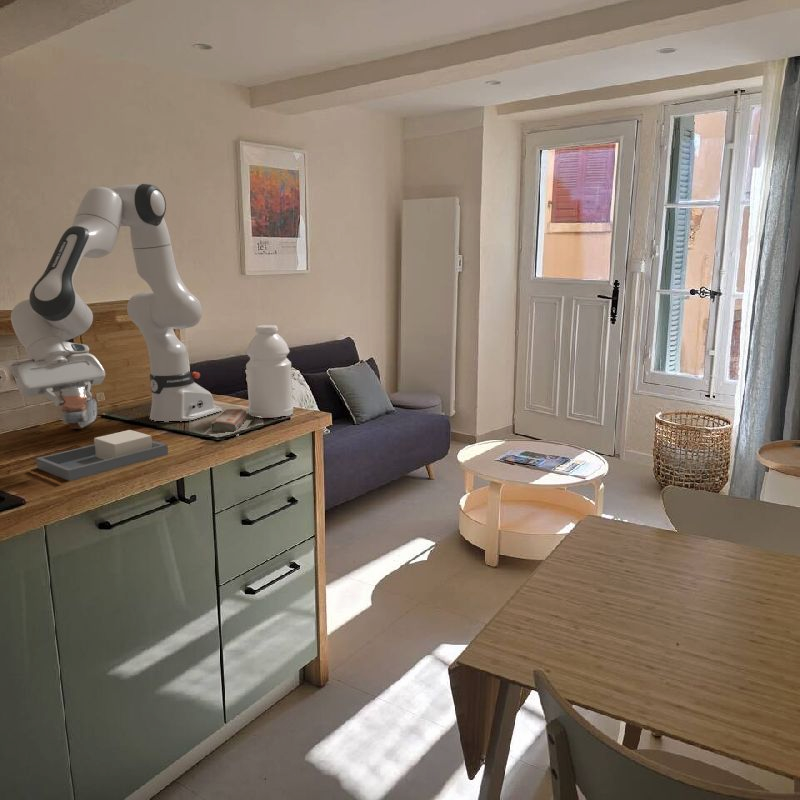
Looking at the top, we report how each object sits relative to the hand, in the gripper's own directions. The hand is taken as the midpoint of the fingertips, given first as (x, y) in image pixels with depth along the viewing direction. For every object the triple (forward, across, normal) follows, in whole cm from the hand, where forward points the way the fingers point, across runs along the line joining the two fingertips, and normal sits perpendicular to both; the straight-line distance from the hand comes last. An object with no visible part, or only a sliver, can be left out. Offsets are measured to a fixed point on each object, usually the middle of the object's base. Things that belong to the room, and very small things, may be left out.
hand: (74, 401), depth 173 cm
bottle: (+8, +65, +16) cm, 67 cm away
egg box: (+11, +12, +12) cm, 20 cm away
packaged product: (+11, +45, +14) cm, 49 cm away
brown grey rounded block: (-16, +22, +41) cm, 49 cm away
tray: (+12, +6, +12) cm, 18 cm away
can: (+3, 0, +4) cm, 5 cm away
